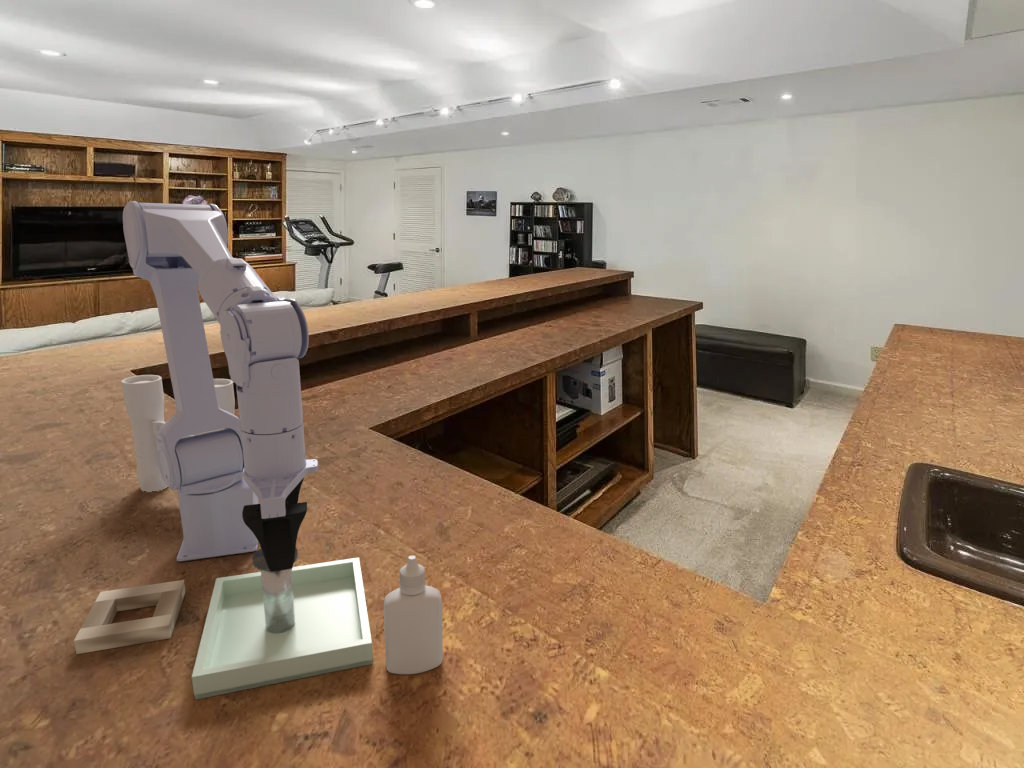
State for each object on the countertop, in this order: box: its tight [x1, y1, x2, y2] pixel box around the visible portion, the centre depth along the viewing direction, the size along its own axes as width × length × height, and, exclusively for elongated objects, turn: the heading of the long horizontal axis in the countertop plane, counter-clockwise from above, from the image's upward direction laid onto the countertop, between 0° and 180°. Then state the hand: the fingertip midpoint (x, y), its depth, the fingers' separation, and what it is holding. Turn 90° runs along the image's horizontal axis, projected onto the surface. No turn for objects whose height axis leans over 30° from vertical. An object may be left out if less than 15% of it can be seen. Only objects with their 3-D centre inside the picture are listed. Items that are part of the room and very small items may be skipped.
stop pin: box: [251, 547, 299, 633], centre depth 63 cm, size 4×4×8 cm
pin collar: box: [73, 579, 186, 655], centre depth 65 cm, size 8×8×2 cm
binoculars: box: [120, 374, 236, 493], centre depth 94 cm, size 17×5×18 cm, turn 84°
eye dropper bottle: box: [383, 555, 444, 675], centre depth 58 cm, size 4×6×12 cm
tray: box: [191, 557, 374, 701], centre depth 64 cm, size 16×16×2 cm
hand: (282, 548), depth 62 cm, fingers open, 7 cm apart
